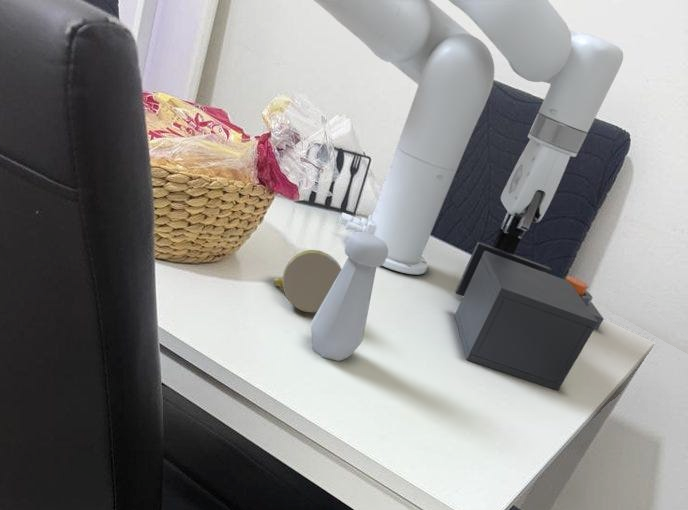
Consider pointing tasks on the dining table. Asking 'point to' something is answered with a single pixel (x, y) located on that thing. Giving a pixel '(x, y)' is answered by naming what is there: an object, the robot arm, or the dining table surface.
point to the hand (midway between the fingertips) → (499, 257)
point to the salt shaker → (348, 299)
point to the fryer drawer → (483, 247)
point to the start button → (577, 285)
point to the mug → (309, 279)
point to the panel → (592, 308)
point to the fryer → (523, 321)
